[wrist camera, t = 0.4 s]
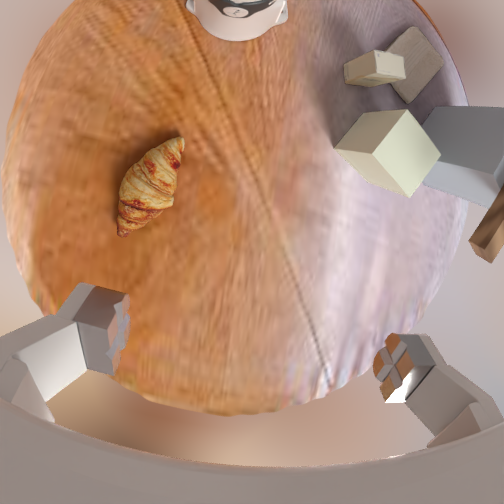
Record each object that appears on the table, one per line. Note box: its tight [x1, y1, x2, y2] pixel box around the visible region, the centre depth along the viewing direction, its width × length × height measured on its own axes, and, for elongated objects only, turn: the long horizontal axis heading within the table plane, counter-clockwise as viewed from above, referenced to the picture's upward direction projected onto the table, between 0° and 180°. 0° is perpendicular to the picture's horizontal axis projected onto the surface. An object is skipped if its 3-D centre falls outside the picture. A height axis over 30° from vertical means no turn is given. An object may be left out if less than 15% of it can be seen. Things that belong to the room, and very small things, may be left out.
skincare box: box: [344, 50, 406, 87], centre depth 42 cm, size 6×4×12 cm
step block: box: [334, 109, 441, 198], centre depth 46 cm, size 10×10×15 cm
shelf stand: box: [421, 106, 504, 209], centre depth 42 cm, size 16×10×26 cm, turn 141°
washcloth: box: [384, 26, 444, 104], centre depth 45 cm, size 12×18×3 cm, turn 140°
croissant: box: [116, 137, 185, 238], centre depth 49 cm, size 21×10×8 cm, turn 144°
